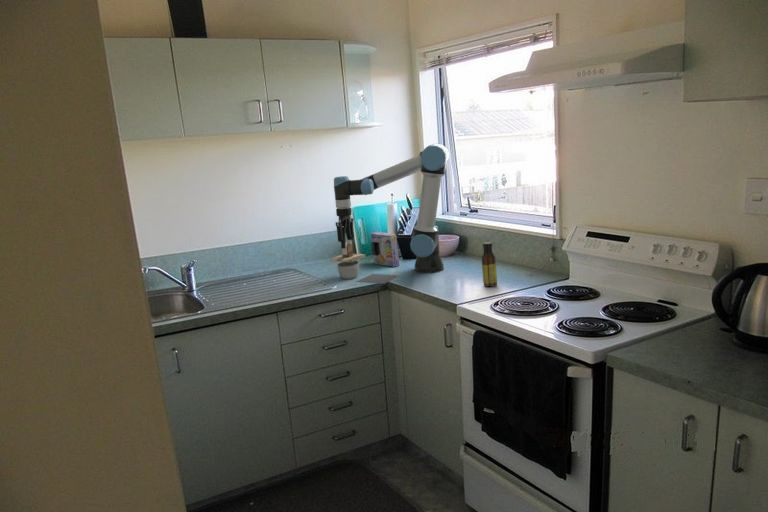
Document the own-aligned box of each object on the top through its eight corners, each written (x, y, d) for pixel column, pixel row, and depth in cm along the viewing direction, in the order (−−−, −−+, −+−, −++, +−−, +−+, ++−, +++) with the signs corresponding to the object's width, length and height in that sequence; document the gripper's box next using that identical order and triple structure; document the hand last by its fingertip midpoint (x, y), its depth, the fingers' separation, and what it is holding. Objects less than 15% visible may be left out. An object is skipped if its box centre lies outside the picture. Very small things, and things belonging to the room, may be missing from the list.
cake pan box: (371, 262, 324) (369, 232, 321) (379, 261, 327) (376, 230, 324) (392, 267, 309) (390, 235, 305) (400, 266, 312) (397, 233, 308)
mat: (399, 276, 290) (399, 275, 290) (384, 284, 276) (384, 283, 276) (372, 274, 298) (372, 273, 297) (356, 282, 284) (356, 281, 284)
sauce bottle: (498, 283, 263) (496, 241, 259) (496, 287, 257) (494, 244, 253) (483, 283, 265) (482, 241, 261) (481, 287, 259) (480, 244, 255)
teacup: (359, 280, 288) (357, 264, 286) (337, 281, 288) (336, 266, 287) (360, 273, 302) (359, 258, 300) (340, 274, 302) (338, 259, 300)
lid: (365, 256, 295) (364, 242, 294) (351, 261, 284) (350, 248, 283) (343, 255, 302) (342, 242, 300) (330, 260, 291) (328, 247, 289)
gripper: (346, 205, 297) (350, 249, 301) (327, 210, 282) (332, 256, 287) (358, 205, 293) (362, 250, 298) (340, 210, 278) (344, 257, 283)
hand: (347, 253), depth 292 cm, fingers closed on lid, 4 cm apart
